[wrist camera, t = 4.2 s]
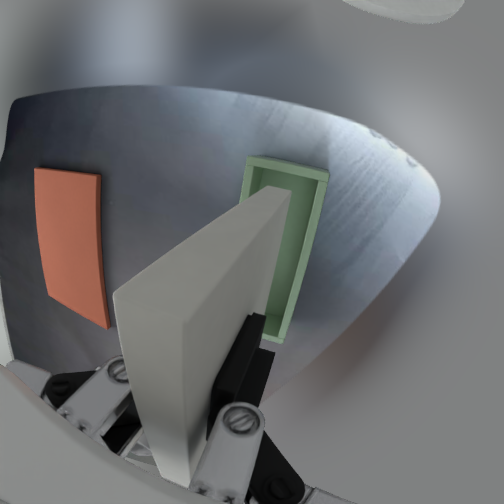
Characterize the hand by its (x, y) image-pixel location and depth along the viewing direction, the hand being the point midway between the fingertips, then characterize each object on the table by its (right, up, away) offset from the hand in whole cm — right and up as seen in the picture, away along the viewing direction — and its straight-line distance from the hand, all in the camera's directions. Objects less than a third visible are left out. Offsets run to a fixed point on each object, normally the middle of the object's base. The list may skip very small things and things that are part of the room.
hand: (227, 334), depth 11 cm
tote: (+3, +4, +12) cm, 13 cm away
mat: (-23, +4, +19) cm, 30 cm away
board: (+2, +2, +6) cm, 7 cm away
